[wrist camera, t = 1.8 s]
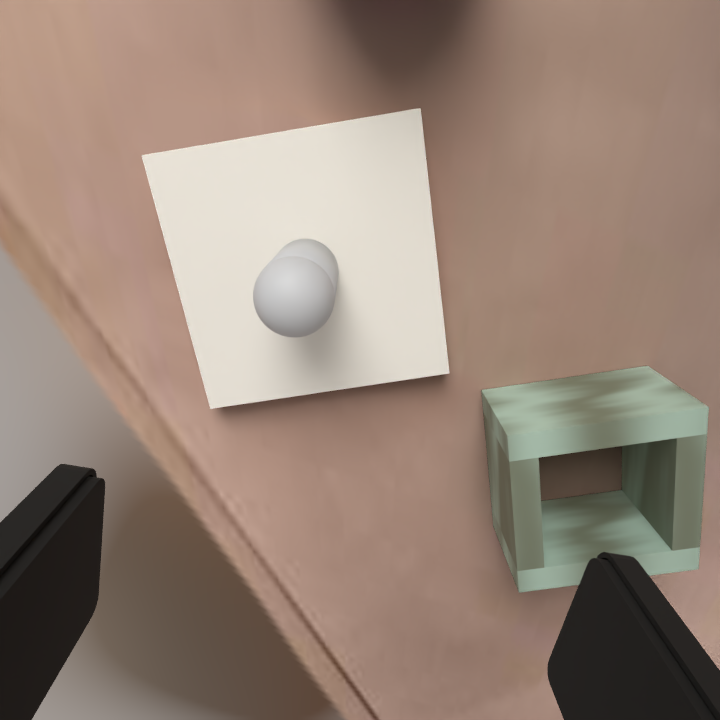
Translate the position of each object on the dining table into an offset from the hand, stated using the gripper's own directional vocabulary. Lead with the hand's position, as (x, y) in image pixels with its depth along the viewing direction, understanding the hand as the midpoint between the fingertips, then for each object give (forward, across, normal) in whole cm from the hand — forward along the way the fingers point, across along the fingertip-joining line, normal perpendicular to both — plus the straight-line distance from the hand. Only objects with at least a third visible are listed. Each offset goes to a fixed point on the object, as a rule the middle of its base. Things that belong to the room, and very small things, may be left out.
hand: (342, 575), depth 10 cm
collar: (+22, -15, +6) cm, 28 cm away
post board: (+22, +3, -2) cm, 22 cm away
